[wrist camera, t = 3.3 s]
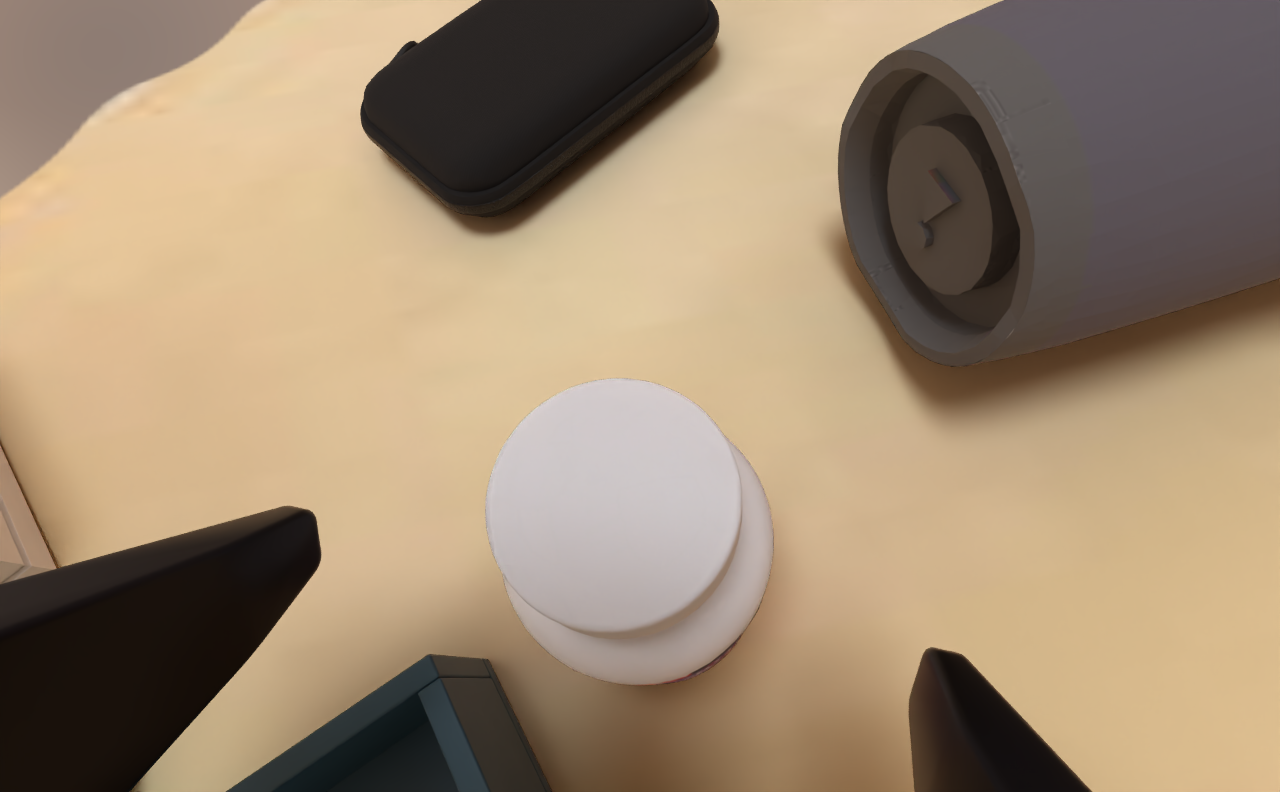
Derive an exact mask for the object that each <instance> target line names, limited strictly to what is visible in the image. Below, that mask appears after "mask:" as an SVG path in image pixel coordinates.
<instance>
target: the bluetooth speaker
mask: <svg viewBox="0 0 1280 792" xmlns="http://www.w3.org/2000/svg"><path fill="white" fill-rule="evenodd" d="M838 180H839V193H840V203H841V209H842V215H843V220H844V225H845V230H846V234H847V237H848V241H849V245H850V248H851V251H852V253H853V256H854V259H855V261H856V264H857V266H858V267H859V269H860V271H861V272H862V274H863V275H864V277H865V279H866V280H867V282H868V283H869V285H870V287H871V288H872V290H873V291H874V293H875V295H876V296H877V298H878V300H879V301H880V303H881V305H882V306H883V308H884V309H885V311H886V313H887V314H888V316H889V317H890V319H891V321H892V322H893V324H894V326H895V328H896V329H897V331H898V333H899V334H900V336H901V337H902V339H903V340H904V341H905V342H906V343H907V344H908V345H909V346H910V347H911V348H912V349H913V350H914V351H916V352H917V353H919V354H920V355H922V356H924V357H925V358H927V359H929V360H930V361H933V362H936V363H939V364H942V365H947V366H952V367H953V366H959V367H960V366H969V365H974V364H980V363H985V362H990V361H995V360H1001V359H1006V358H1010V357H1013V356H1017V355H1023V354H1027V353H1031V352H1035V351H1039V350H1043V349H1047V348H1051V347H1056V346H1060V345H1064V344H1067V343H1071V342H1074V341H1077V340H1081V339H1084V338H1088V337H1091V336H1094V335H1098V334H1101V333H1104V332H1108V331H1111V330H1114V329H1118V328H1121V327H1124V326H1128V325H1131V324H1134V323H1138V322H1141V321H1145V320H1148V319H1151V318H1155V317H1158V316H1161V315H1165V314H1168V313H1171V312H1175V311H1178V310H1181V309H1184V308H1188V307H1191V306H1194V305H1197V304H1200V303H1203V302H1207V301H1210V300H1213V299H1216V298H1219V297H1223V296H1226V295H1229V294H1232V293H1235V292H1238V291H1242V290H1245V289H1248V288H1251V287H1254V286H1257V285H1260V284H1263V283H1266V282H1270V281H1273V280H1276V279H1279V278H1280V0H1004V1H1001V2H998V3H996V4H993V5H991V6H989V7H987V8H984V9H982V10H980V11H977V12H975V13H973V14H971V15H968V16H966V17H964V18H961V19H959V20H957V21H955V22H952V23H950V24H948V25H945V26H944V27H942V28H940V29H938V30H936V31H934V32H932V33H930V34H928V35H926V36H924V37H922V38H920V39H918V40H916V41H914V42H911V43H909V44H908V45H906V46H904V47H902V48H900V49H899V50H897V51H895V52H893V53H891V54H890V55H888V56H886V57H885V58H884V59H882V60H881V61H879V62H878V63H877V65H876V66H875V67H874V68H873V69H872V70H871V71H870V72H869V73H868V75H867V77H866V78H865V80H864V81H863V83H862V84H861V86H860V88H859V90H858V92H857V94H856V96H855V98H854V100H853V102H852V104H851V106H850V108H849V110H848V112H847V114H846V117H845V120H844V122H843V124H842V129H841V135H840V142H839V153H838Z"/></svg>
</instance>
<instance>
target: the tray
mask: <svg viewBox="0 0 1280 792" xmlns="http://www.w3.org/2000/svg"><path fill="white" fill-rule="evenodd" d="M226 792H552V791H551V789H550V787H549V785H548V782H547V780H546V778H545V776H544V774H543V772H542V770H541V768H540V766H539V764H538V762H537V760H536V758H535V755H534V753H533V751H532V749H531V747H530V745H529V743H528V741H527V739H526V737H525V735H524V733H523V731H522V728H521V726H520V724H519V722H518V720H517V718H516V716H515V714H514V712H513V710H512V708H511V706H510V704H509V702H508V699H507V697H506V695H505V693H504V691H503V689H502V687H501V685H500V683H499V681H498V679H497V677H496V675H495V672H494V670H493V668H492V666H491V664H490V662H489V660H488V659H479V658H467V657H456V656H444V655H433V654H429V655H427V656H425V657H424V658H422V659H421V660H419V661H418V662H416V663H415V664H413V665H412V666H411V667H409V668H408V669H406V670H405V671H403V672H402V673H400V674H399V675H397V676H396V677H394V678H393V679H391V680H390V681H388V682H387V683H385V684H384V685H382V686H381V687H380V688H378V689H377V690H375V691H374V692H372V693H371V694H369V695H368V696H366V697H365V698H363V699H362V700H360V701H359V702H357V703H356V704H354V705H353V706H351V707H350V708H349V709H347V710H346V711H344V712H343V713H341V714H340V715H338V716H337V717H335V718H334V719H332V720H331V721H329V722H328V723H326V724H325V725H323V726H322V727H321V728H319V729H318V730H316V731H315V732H313V733H312V734H310V735H309V736H307V737H306V738H304V739H303V740H301V741H300V742H298V743H297V744H295V745H294V746H292V747H291V748H290V749H288V750H287V751H285V752H284V753H282V754H281V755H279V756H278V757H276V758H275V759H273V760H272V761H270V762H269V763H267V764H266V765H264V766H263V767H262V768H260V769H259V770H257V771H256V772H254V773H253V774H251V775H250V776H248V777H247V778H245V779H244V780H242V781H241V782H239V783H238V784H236V785H235V786H233V787H232V788H231V789H229V790H228V791H226Z"/></svg>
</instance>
